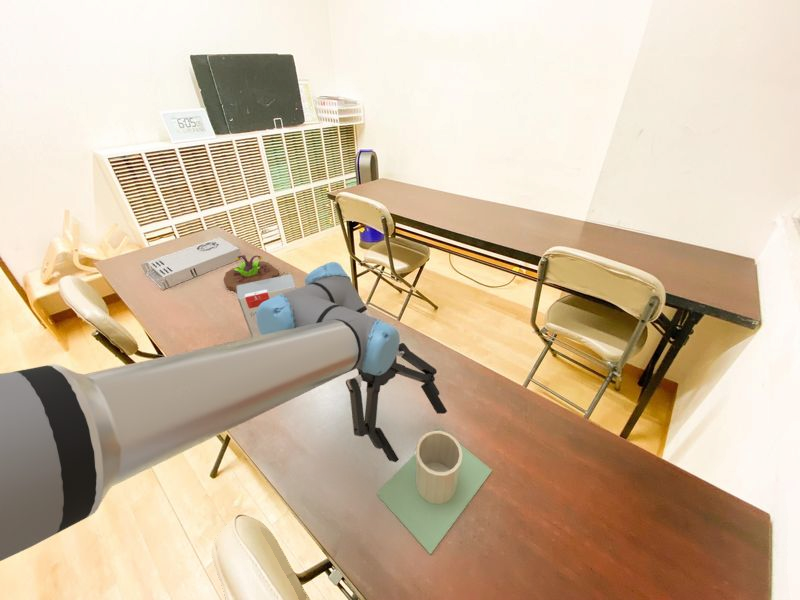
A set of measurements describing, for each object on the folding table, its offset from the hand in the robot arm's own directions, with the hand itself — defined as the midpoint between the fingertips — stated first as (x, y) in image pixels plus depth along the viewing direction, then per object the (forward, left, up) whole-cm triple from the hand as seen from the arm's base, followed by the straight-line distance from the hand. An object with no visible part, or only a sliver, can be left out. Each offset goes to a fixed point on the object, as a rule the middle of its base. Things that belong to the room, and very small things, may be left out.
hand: (419, 434), depth 61 cm
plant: (+9, +99, -12) cm, 100 cm away
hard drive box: (0, +58, -12) cm, 60 cm away
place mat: (0, -5, -12) cm, 13 cm away
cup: (0, -5, -12) cm, 13 cm away
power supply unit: (-3, +127, -12) cm, 128 cm away
